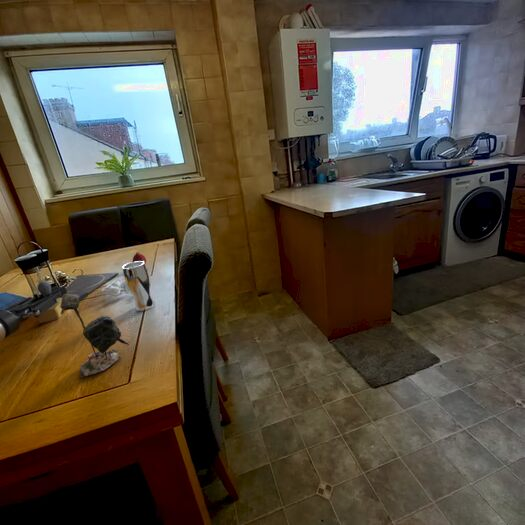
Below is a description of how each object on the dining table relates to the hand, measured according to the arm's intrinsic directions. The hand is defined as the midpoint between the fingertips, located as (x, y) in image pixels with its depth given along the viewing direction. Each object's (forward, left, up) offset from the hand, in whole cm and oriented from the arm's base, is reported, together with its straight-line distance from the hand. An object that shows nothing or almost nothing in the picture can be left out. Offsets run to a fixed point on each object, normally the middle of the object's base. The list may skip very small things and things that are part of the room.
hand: (60, 289), depth 98 cm
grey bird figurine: (+36, -30, -7) cm, 48 cm away
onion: (+10, +35, -7) cm, 37 cm away
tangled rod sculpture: (+15, +13, -7) cm, 21 cm away
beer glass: (+32, -3, -7) cm, 33 cm away
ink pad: (-1, +5, -7) cm, 8 cm away
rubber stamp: (0, -5, -7) cm, 9 cm away
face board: (-8, +19, -7) cm, 21 cm away
